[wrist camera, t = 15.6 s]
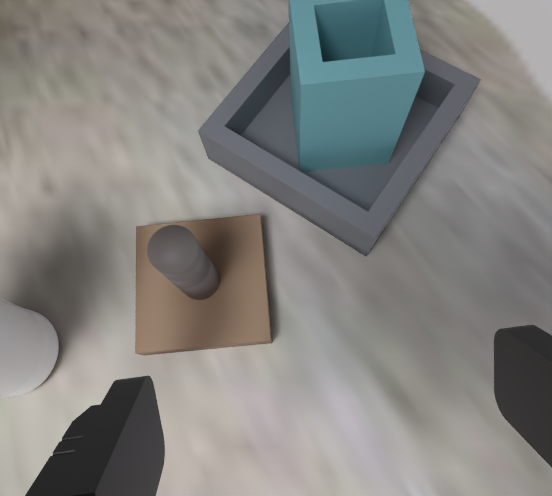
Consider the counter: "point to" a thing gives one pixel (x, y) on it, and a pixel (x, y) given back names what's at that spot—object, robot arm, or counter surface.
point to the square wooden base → (201, 285)
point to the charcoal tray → (333, 182)
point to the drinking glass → (24, 349)
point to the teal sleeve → (351, 79)
